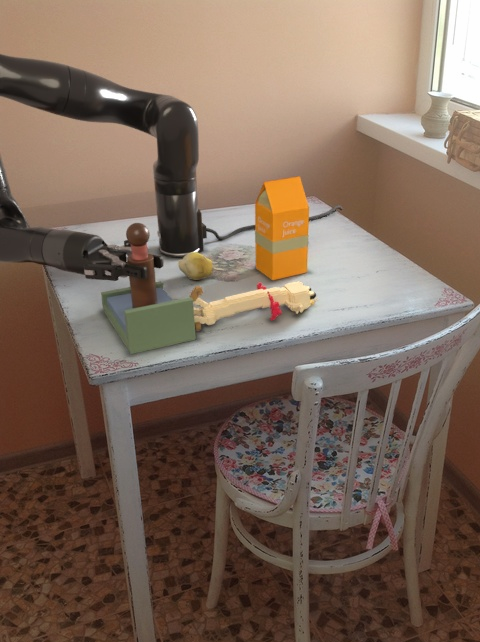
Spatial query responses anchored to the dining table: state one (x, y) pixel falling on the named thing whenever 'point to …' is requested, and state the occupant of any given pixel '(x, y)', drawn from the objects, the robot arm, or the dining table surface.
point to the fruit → (196, 266)
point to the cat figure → (253, 302)
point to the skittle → (141, 288)
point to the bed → (149, 319)
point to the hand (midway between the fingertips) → (153, 267)
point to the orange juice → (281, 228)
